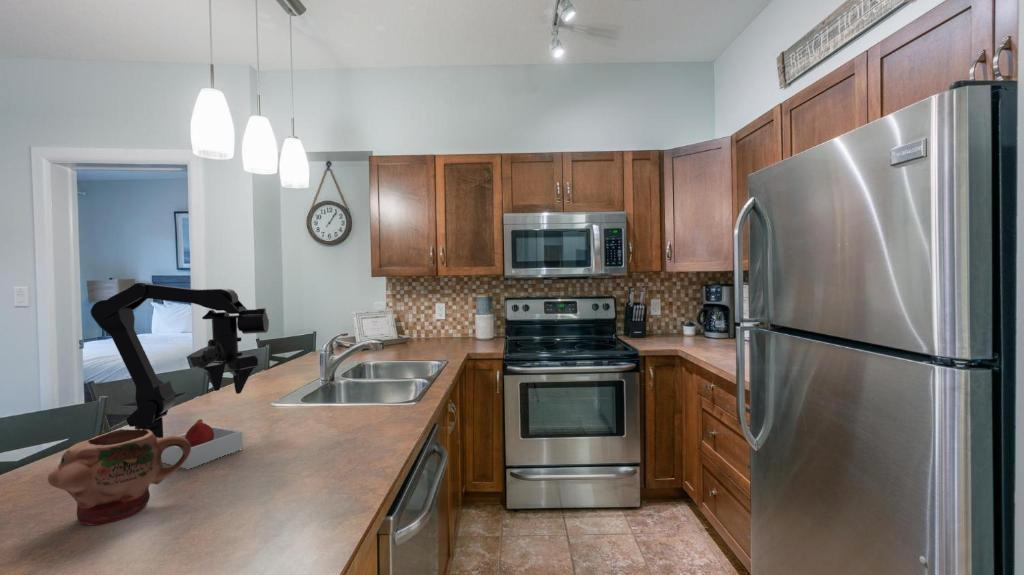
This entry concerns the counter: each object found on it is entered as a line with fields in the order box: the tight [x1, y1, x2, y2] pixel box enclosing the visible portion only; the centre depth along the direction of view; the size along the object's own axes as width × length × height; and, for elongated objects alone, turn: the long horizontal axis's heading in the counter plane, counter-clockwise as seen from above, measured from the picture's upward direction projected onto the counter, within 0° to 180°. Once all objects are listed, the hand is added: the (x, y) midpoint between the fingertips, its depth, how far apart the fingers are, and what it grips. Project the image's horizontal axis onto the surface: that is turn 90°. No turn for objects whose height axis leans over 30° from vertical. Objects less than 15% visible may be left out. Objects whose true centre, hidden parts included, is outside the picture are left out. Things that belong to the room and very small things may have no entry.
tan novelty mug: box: [47, 428, 191, 526], centre depth 83 cm, size 20×12×14 cm, turn 133°
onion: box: [185, 418, 214, 447], centre depth 109 cm, size 6×6×8 cm
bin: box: [161, 425, 244, 470], centre depth 108 cm, size 13×13×4 cm
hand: (227, 392), depth 122 cm, fingers open, 9 cm apart
